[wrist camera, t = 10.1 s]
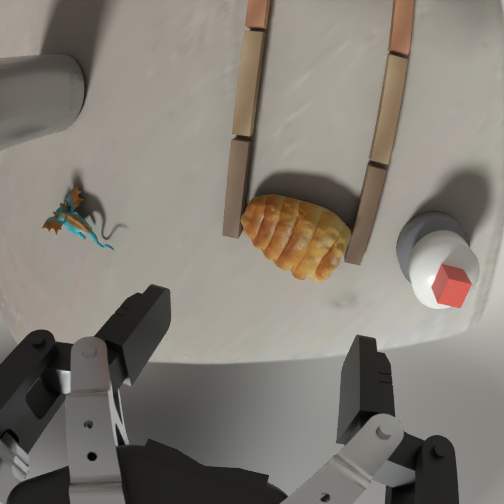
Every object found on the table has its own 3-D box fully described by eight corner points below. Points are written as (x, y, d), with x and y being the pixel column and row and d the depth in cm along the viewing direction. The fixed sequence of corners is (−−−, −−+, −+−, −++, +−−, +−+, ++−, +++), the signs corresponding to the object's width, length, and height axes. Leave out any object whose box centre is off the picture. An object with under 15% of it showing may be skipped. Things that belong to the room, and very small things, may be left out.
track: (226, 230, 31) (222, 235, 30) (261, -56, 18) (258, -62, 16) (359, 259, 29) (360, 265, 28) (412, -32, 16) (416, -37, 15)
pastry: (235, 233, 31) (222, 253, 28) (262, 172, 27) (251, 185, 24) (323, 276, 31) (320, 300, 28) (359, 221, 27) (361, 240, 24)
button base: (386, 270, 29) (389, 281, 27) (409, 202, 26) (414, 210, 24) (447, 284, 28) (452, 295, 26) (472, 221, 25) (480, 230, 23)
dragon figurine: (112, 230, 40) (70, 190, 36) (131, 227, 35) (82, 178, 30) (83, 270, 37) (38, 229, 33) (97, 273, 32) (43, 225, 28)
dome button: (398, 284, 26) (406, 318, 22) (420, 222, 23) (436, 249, 19) (453, 296, 25) (467, 330, 21) (478, 239, 22) (500, 267, 18)
